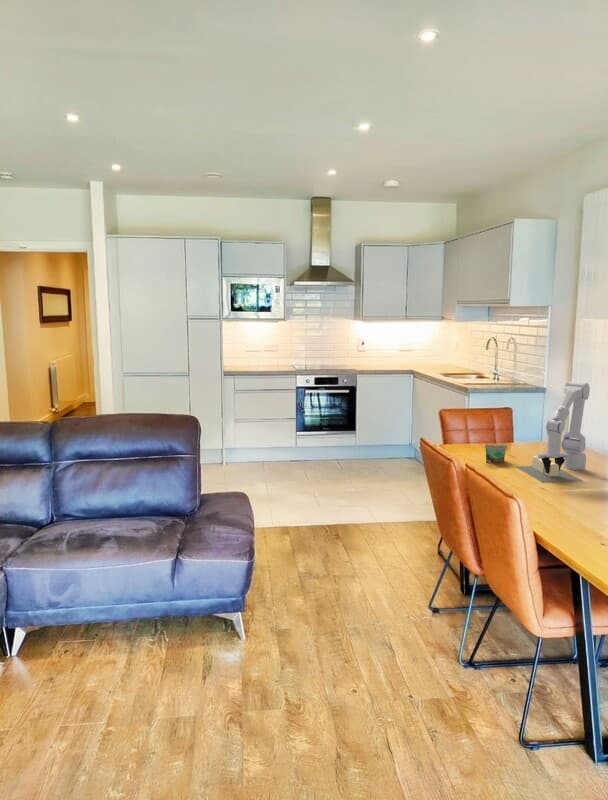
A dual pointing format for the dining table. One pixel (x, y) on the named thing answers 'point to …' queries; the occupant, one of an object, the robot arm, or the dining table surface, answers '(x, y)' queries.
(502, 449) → the food container
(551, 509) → the dining table surface
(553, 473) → the block
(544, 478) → the mat
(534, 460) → the cream box
